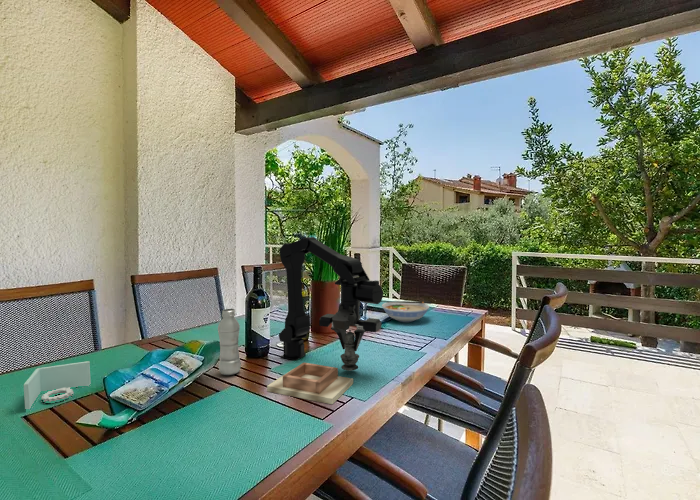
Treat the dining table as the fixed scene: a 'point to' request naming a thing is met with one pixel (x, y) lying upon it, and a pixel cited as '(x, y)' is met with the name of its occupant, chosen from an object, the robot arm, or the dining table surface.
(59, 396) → the right angle wall
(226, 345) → the plastic bottle
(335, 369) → the shaker holder
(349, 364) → the salt shaker
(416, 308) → the ramen bowl
